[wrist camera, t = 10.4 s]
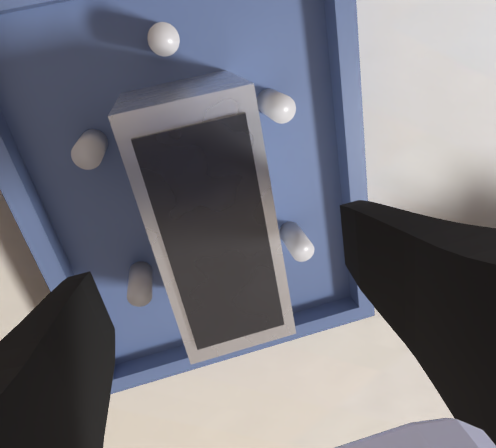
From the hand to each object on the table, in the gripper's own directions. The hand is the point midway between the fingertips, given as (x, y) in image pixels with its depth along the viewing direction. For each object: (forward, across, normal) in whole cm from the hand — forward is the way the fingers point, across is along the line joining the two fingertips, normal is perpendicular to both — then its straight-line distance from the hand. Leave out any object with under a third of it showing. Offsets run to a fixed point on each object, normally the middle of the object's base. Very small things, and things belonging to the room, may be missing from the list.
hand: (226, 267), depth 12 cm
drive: (+6, 0, 0) cm, 6 cm away
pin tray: (+8, 0, 0) cm, 8 cm away
